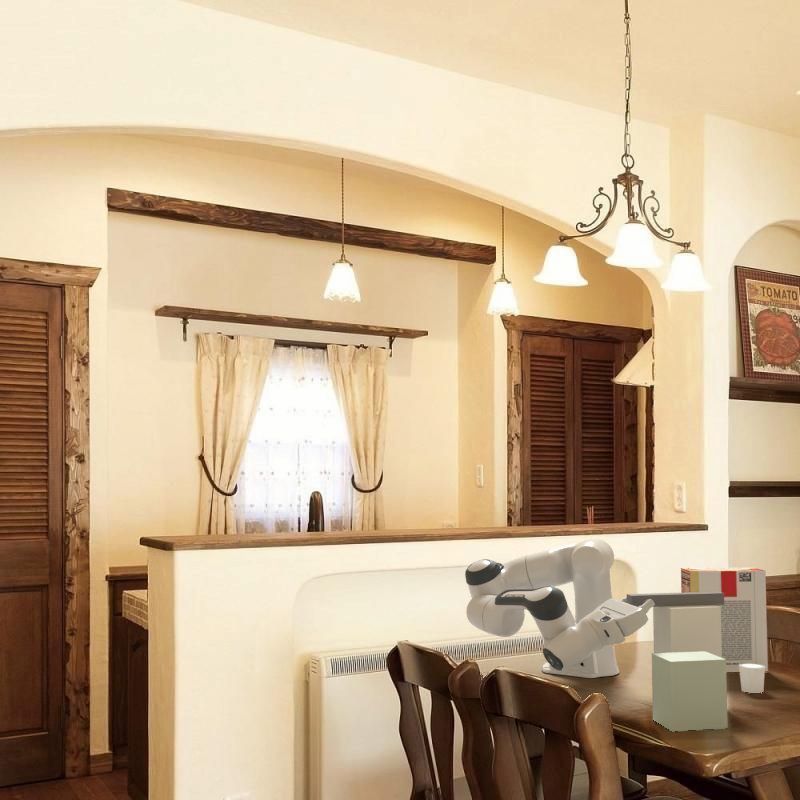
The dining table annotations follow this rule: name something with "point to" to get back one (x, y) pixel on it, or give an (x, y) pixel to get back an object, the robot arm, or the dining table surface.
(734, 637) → the pasta box
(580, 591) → the robot arm
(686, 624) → the tall stand
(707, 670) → the low stand
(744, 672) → the shot glass
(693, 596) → the charcoal bar
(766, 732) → the dining table surface
